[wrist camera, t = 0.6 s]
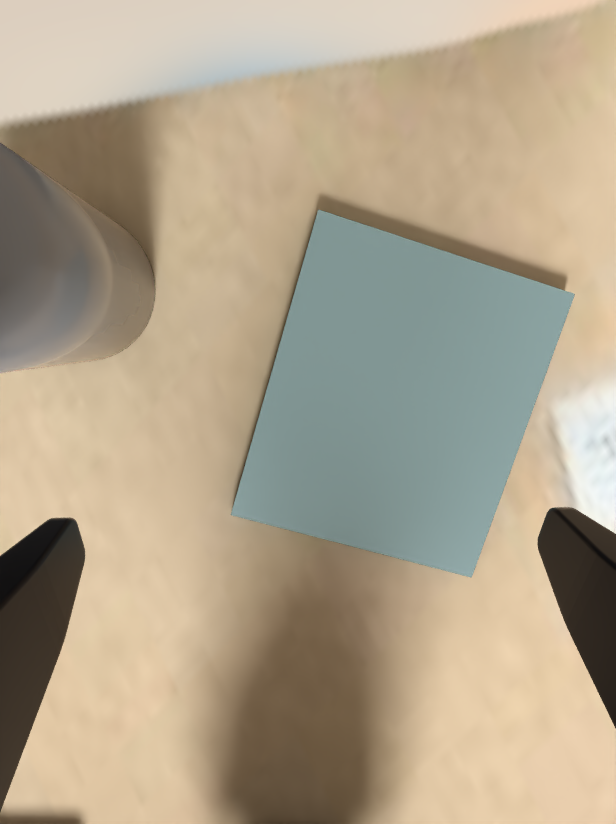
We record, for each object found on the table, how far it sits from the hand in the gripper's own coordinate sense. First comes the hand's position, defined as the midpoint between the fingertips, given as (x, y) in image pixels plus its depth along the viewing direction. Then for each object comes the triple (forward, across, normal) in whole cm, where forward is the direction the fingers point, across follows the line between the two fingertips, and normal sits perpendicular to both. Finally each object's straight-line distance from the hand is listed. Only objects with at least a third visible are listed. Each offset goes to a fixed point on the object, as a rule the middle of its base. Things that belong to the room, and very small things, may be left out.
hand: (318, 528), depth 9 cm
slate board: (+13, -5, +5) cm, 14 cm away
